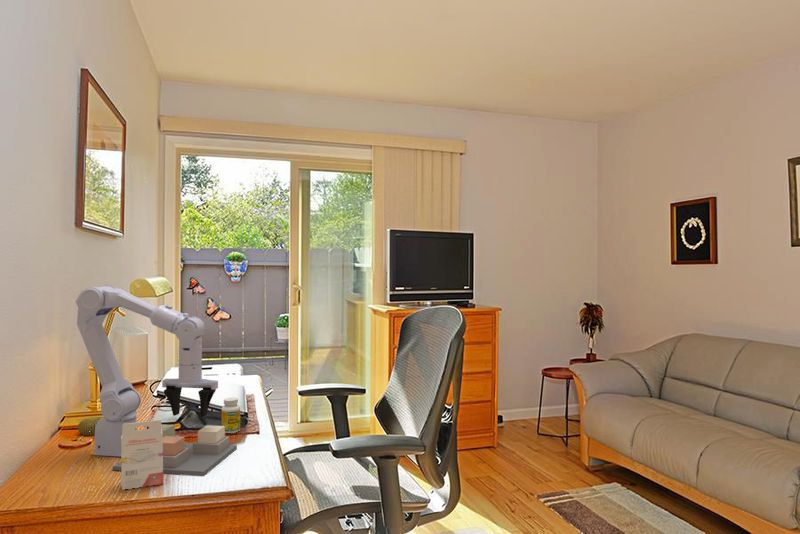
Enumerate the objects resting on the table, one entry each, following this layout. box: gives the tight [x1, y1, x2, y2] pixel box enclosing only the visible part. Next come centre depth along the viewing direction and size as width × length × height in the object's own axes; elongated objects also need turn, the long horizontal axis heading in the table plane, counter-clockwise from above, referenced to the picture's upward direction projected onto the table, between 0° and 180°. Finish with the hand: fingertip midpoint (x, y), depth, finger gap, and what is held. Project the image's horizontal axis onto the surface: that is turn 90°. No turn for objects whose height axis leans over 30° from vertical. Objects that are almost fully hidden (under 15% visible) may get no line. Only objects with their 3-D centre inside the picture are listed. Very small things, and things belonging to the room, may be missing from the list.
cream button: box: [197, 424, 226, 444], centre depth 147 cm, size 5×5×4 cm
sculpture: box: [77, 416, 104, 436], centre depth 164 cm, size 8×4×8 cm
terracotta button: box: [163, 436, 186, 456], centre depth 138 cm, size 5×5×4 cm
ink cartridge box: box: [120, 419, 164, 491], centre depth 127 cm, size 9×5×15 cm, turn 114°
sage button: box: [161, 423, 176, 437], centre depth 148 cm, size 5×5×4 cm
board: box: [112, 434, 238, 477], centre depth 143 cm, size 23×19×4 cm
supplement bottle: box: [221, 397, 241, 434], centre depth 166 cm, size 5×5×10 cm
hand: (189, 415), depth 148 cm, fingers open, 7 cm apart
